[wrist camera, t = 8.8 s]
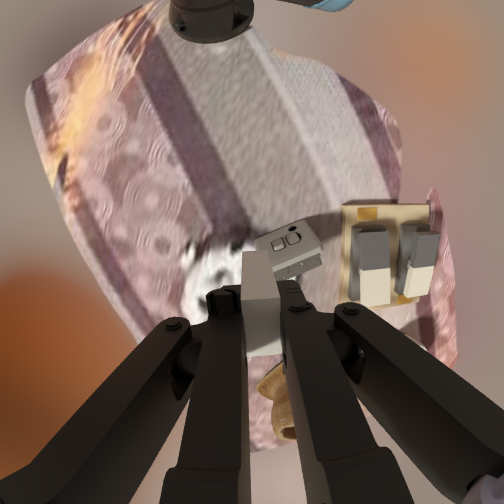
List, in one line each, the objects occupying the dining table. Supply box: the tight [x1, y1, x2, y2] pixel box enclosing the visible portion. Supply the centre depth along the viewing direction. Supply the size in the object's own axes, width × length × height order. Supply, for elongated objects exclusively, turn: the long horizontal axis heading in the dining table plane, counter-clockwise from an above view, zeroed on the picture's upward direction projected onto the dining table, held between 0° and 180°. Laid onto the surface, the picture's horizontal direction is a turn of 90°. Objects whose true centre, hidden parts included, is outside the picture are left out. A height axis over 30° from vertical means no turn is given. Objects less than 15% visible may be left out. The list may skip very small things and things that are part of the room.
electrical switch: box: [254, 220, 324, 281], centre depth 43 cm, size 9×5×9 cm, turn 113°
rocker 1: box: [358, 231, 390, 307], centre depth 42 cm, size 12×5×2 cm, turn 4°
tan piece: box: [256, 362, 297, 441], centre depth 48 cm, size 15×12×15 cm
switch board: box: [339, 204, 430, 310], centre depth 46 cm, size 20×18×4 cm
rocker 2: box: [403, 231, 440, 298], centre depth 42 cm, size 12×5×2 cm, turn 4°
